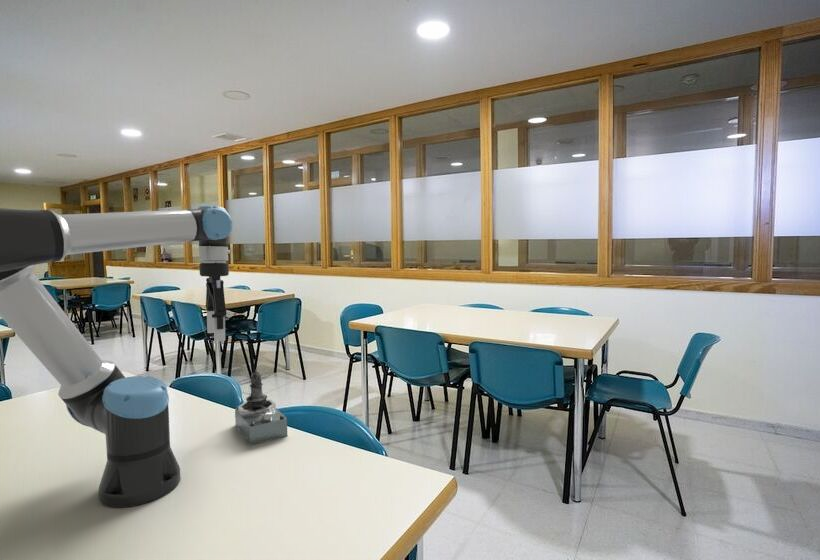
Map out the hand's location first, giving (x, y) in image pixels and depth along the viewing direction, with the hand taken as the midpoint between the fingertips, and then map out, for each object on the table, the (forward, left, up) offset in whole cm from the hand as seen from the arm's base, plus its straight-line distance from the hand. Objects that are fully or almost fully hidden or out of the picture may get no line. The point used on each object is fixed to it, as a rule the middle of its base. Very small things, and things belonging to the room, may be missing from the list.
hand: (216, 336), depth 124 cm
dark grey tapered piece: (-5, -9, -22) cm, 24 cm away
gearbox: (-8, -9, -27) cm, 30 cm away
